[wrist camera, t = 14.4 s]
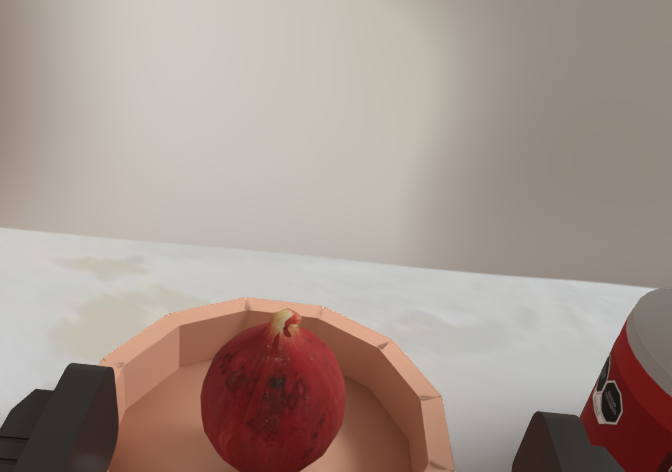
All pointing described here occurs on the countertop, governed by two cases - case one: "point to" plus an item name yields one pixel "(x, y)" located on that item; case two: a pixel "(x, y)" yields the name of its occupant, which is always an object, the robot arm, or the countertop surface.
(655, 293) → the canned food
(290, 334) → the onion
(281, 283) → the countertop surface
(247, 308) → the bowl
